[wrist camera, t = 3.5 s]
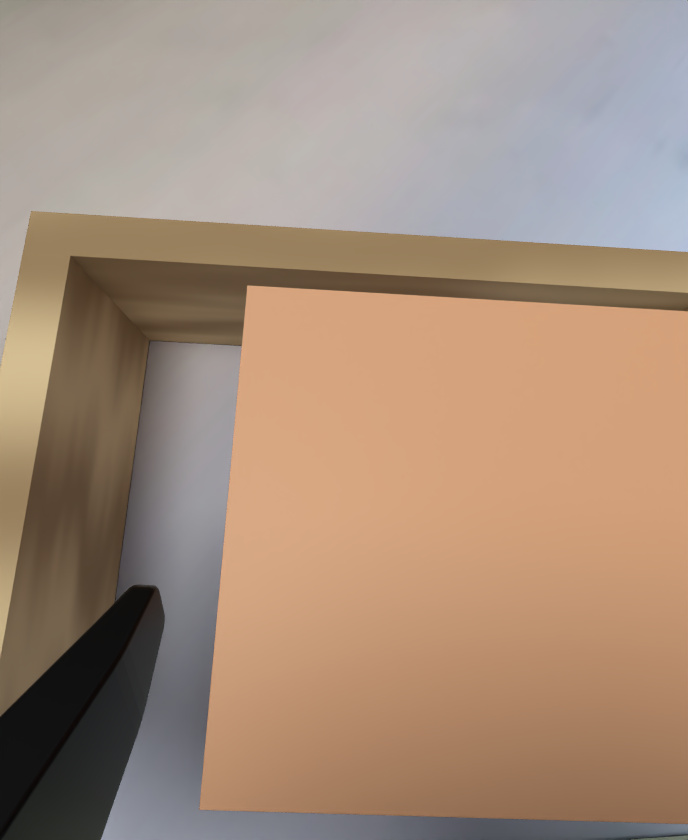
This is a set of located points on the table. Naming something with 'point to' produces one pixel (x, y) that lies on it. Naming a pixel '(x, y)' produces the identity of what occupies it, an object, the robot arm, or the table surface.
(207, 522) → the table surface
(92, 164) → the table surface
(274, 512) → the block
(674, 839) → the mat
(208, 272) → the u-shaped frame
